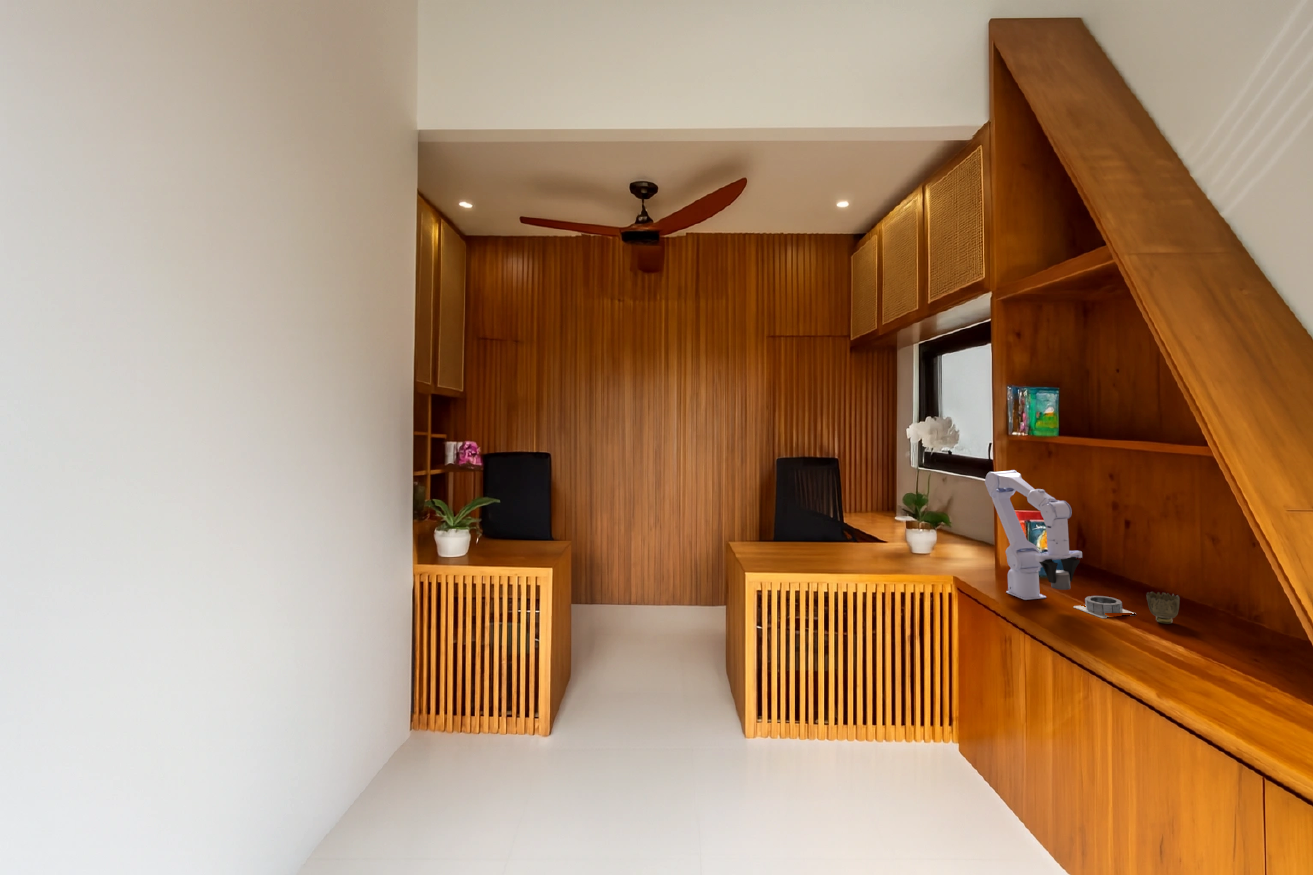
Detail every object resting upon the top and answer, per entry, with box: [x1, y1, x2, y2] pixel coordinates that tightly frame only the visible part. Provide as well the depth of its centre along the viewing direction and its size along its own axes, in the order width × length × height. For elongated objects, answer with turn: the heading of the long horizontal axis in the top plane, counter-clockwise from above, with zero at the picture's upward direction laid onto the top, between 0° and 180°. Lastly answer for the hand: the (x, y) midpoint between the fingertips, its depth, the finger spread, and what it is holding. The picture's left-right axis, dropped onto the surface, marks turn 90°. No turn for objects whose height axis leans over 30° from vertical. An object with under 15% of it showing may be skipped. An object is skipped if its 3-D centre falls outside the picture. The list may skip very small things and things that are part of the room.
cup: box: [1145, 591, 1181, 625], centre depth 170 cm, size 8×7×8 cm
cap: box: [1050, 569, 1071, 591], centre depth 186 cm, size 5×5×5 cm
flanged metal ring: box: [1073, 595, 1137, 619], centre depth 182 cm, size 11×11×3 cm
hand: (1060, 581), depth 186 cm, fingers closed on cap, 5 cm apart
